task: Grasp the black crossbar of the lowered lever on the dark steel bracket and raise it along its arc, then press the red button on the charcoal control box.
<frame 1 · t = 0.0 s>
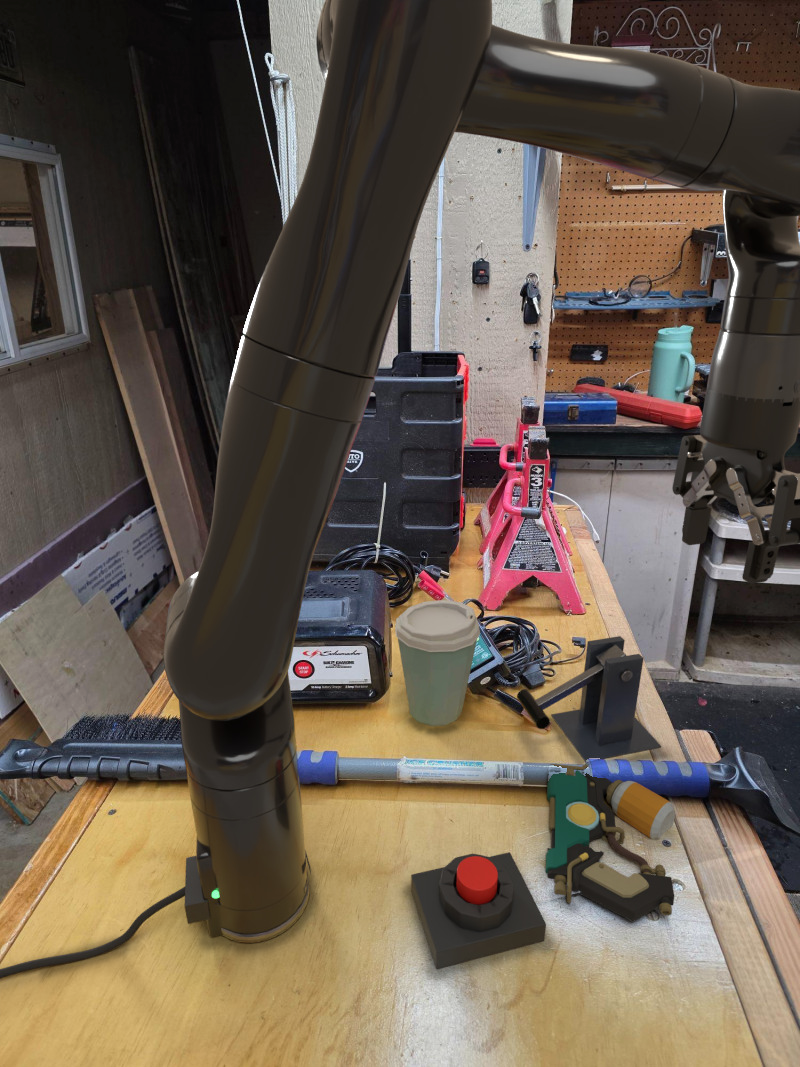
hand: (722, 561, 64), 29 cm above the workbench, tool pointing down, fingers open, 8 cm apart
disposable coffee cup: (435, 715, 90), on the workbench
button: (476, 879, 61), point 4 cm above the workbench, slide at 0.1 cm
bracket: (603, 737, 85), on the workbench
spray gun: (600, 848, 70), on the workbench
lever: (575, 684, 81), point 9 cm above the workbench, hinge at -25.0°
control box: (475, 915, 63), on the workbench
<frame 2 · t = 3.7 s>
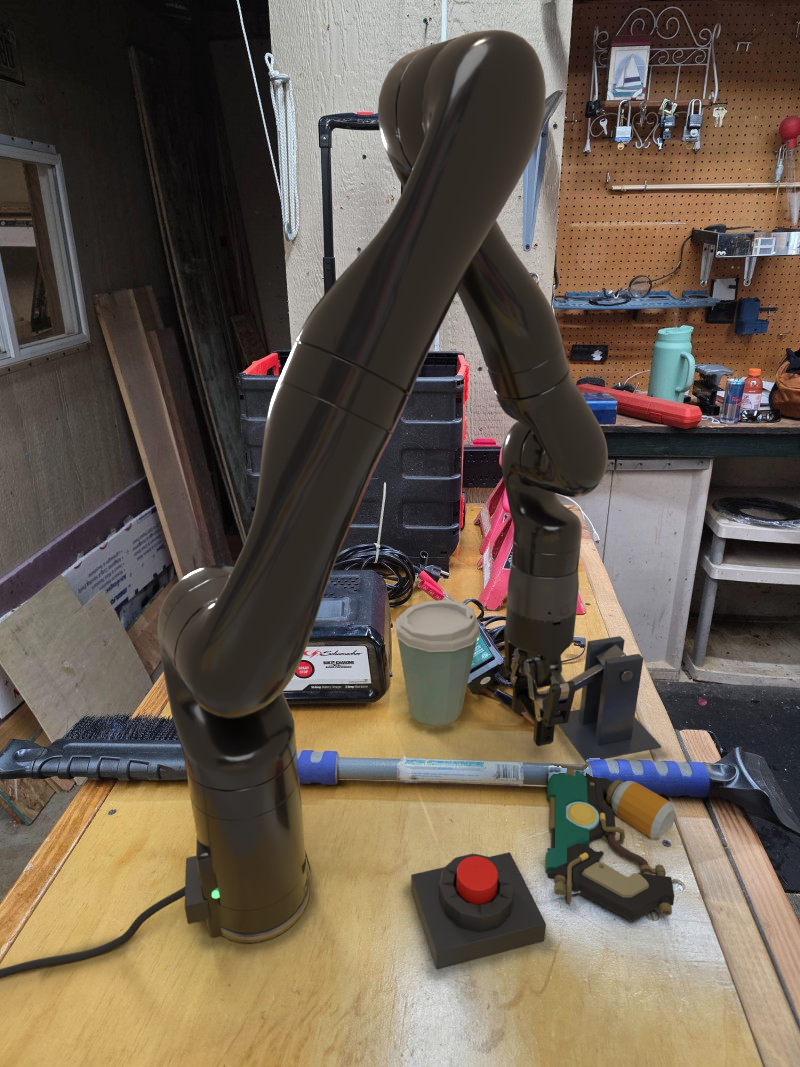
hand: (531, 725, 82), 4 cm above the workbench, tool pointing down, fingers closed on lever, 5 cm apart
lever: (575, 684, 81), point 9 cm above the workbench, hinge at -25.1°, touching gripper
everything else where it was.
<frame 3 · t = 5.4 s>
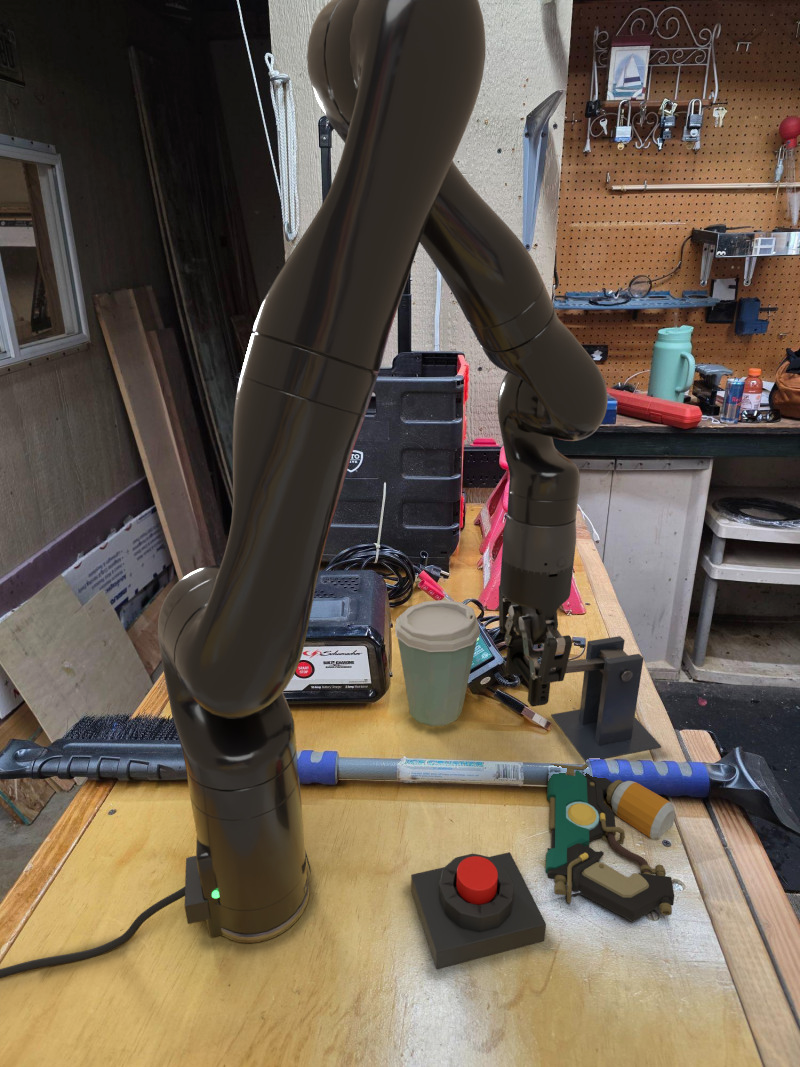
hand: (526, 687, 79), 10 cm above the workbench, tool pointing down, fingers closed on lever, 5 cm apart
lever: (573, 666, 80), point 11 cm above the workbench, hinge at 4.1°, touching gripper
everything else where it was.
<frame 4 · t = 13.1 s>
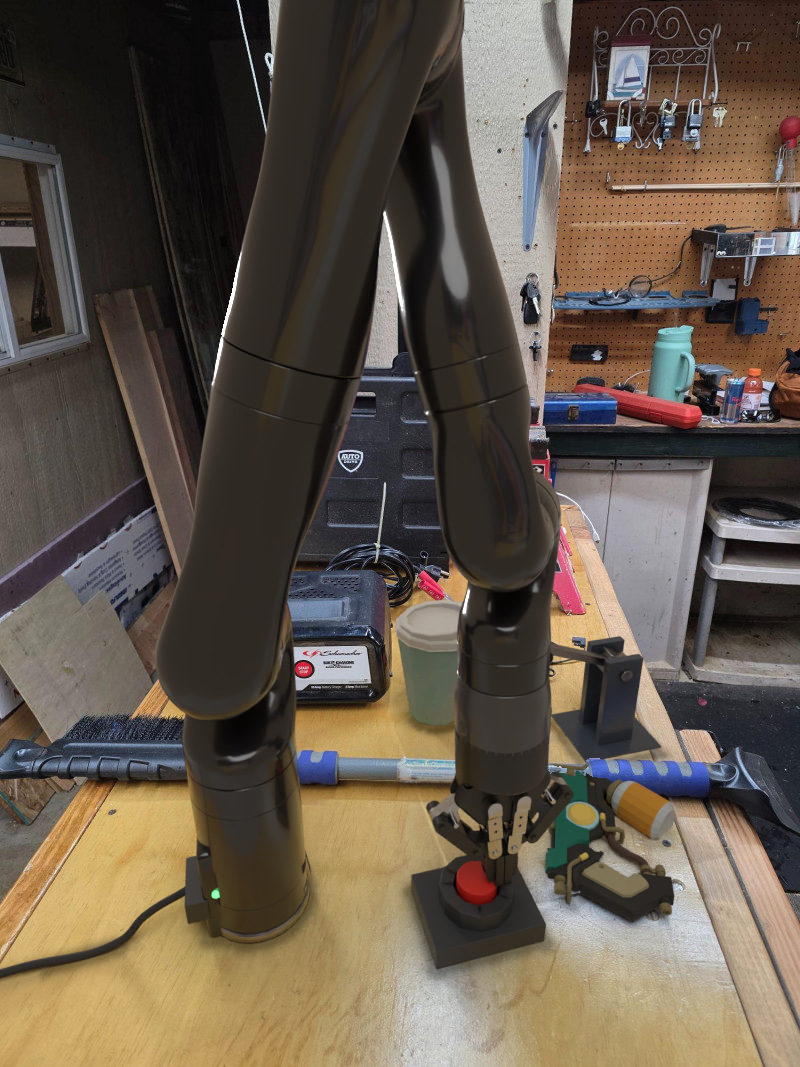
hand: (498, 877, 61), 5 cm above the workbench, tool pointing down, fingers closed
button: (476, 884, 61), point 4 cm above the workbench, slide at -0.5 cm, touching gripper
lever: (577, 654, 79), point 13 cm above the workbench, hinge at 21.2°
everything else where it was.
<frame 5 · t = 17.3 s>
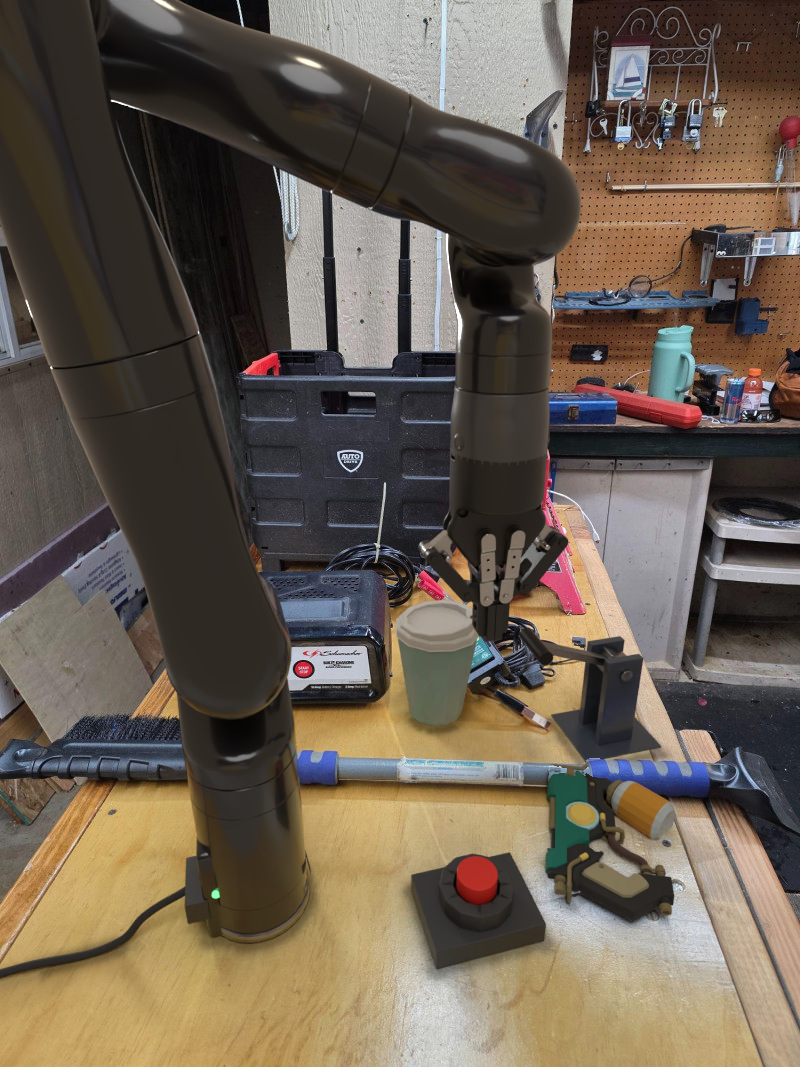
hand: (489, 636, 60), 25 cm above the workbench, tool pointing down, fingers closed
button: (476, 879, 61), point 4 cm above the workbench, slide at 0.1 cm
everything else where it was.
at the end: lever at +21° (first picture: -25°); button pushed in 1.0 cm at the most during the clip, back to where it started at the end; button slide at 0.1 cm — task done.
